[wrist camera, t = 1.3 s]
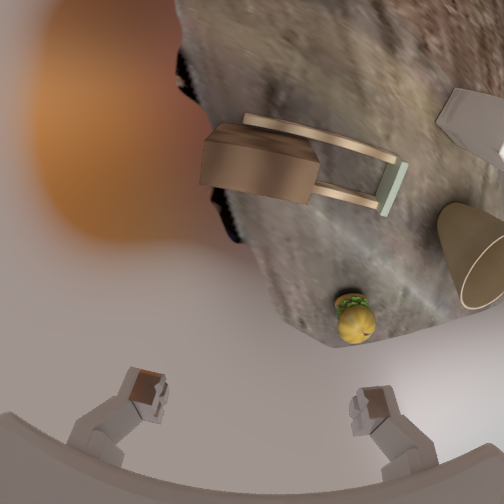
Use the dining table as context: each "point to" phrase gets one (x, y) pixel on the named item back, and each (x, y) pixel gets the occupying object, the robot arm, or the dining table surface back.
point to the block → (259, 163)
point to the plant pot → (473, 253)
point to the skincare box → (475, 124)
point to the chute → (333, 139)
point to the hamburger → (354, 318)
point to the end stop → (390, 185)
